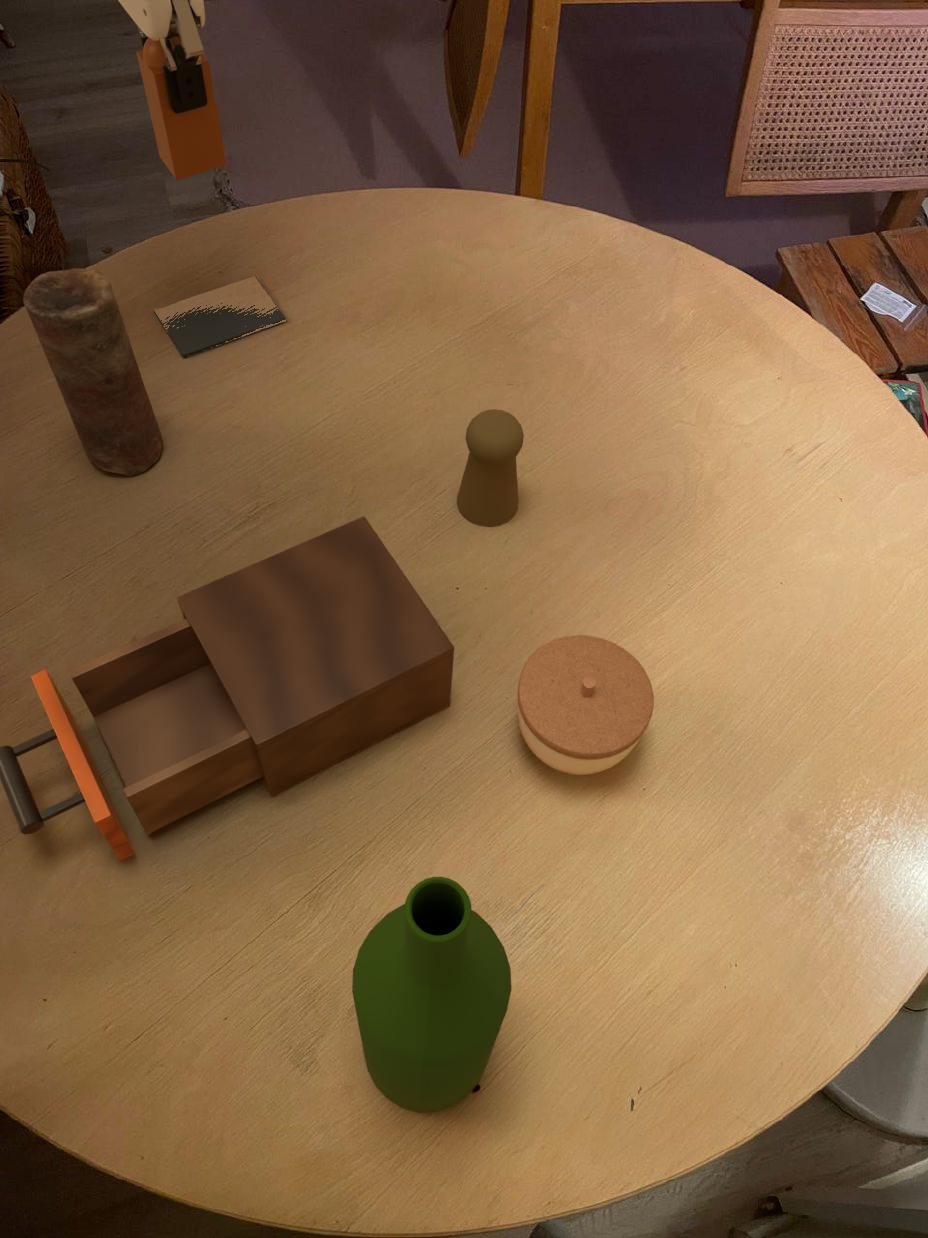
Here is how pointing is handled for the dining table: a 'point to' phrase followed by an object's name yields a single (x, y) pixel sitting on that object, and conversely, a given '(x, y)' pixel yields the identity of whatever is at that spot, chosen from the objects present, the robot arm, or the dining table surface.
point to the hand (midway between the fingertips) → (178, 91)
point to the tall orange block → (181, 118)
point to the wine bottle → (430, 997)
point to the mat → (215, 327)
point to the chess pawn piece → (491, 469)
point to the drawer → (142, 736)
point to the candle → (95, 368)
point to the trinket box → (583, 704)
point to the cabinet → (322, 651)
